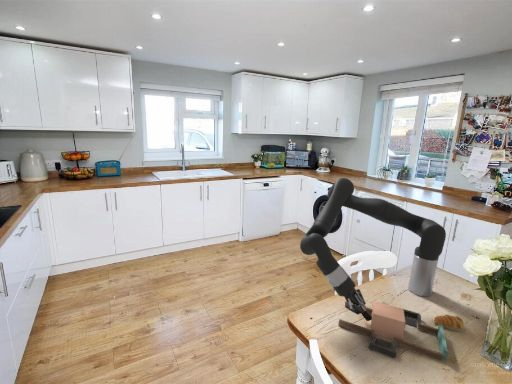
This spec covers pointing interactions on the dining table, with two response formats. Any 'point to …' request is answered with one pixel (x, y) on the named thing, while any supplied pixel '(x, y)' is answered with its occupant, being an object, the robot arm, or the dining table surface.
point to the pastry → (450, 322)
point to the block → (388, 320)
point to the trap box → (385, 346)
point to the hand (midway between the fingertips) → (369, 319)
